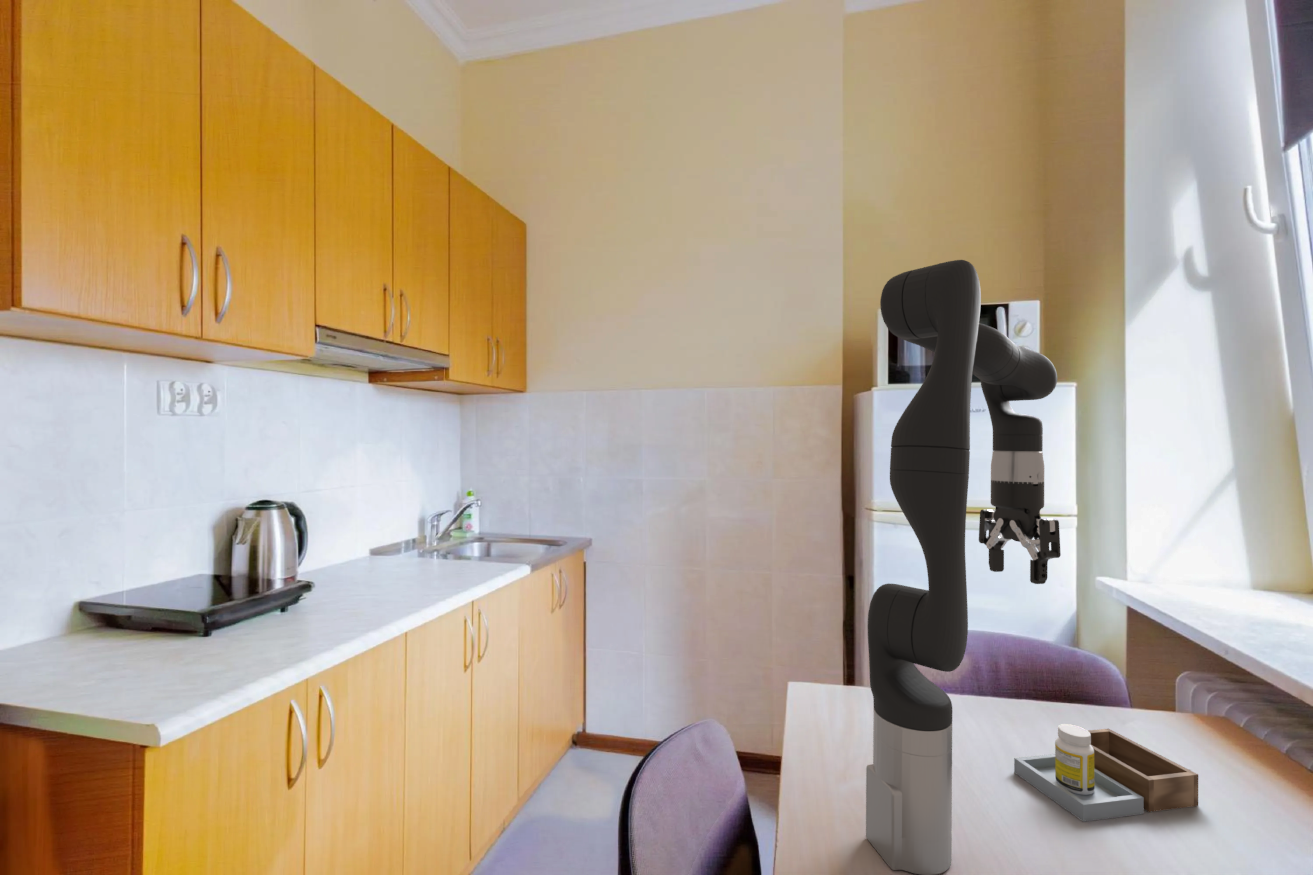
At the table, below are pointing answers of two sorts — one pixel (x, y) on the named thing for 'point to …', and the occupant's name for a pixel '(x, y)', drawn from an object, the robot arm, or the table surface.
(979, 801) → the table surface
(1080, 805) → the tray
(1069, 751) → the supplement bottle
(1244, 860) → the table surface
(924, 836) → the robot arm
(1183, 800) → the caddy
